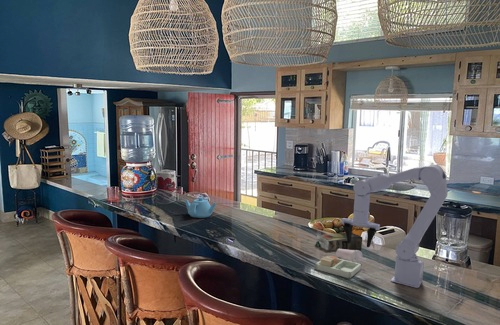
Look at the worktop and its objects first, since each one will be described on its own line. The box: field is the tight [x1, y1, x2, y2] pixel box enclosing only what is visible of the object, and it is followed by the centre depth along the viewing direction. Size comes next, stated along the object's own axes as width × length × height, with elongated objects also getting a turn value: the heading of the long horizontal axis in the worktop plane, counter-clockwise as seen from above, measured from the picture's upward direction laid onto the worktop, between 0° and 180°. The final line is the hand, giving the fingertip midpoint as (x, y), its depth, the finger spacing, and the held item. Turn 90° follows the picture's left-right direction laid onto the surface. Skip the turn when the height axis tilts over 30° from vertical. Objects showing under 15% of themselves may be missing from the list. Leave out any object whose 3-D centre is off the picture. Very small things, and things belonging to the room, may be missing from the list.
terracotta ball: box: [330, 255, 338, 265], centre depth 154 cm, size 4×4×4 cm
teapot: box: [184, 196, 217, 219], centre depth 228 cm, size 15×15×11 cm
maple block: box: [320, 256, 335, 267], centre depth 150 cm, size 4×4×4 cm
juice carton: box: [315, 232, 363, 251], centre depth 180 cm, size 20×10×6 cm, turn 114°
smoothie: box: [335, 249, 368, 265], centre depth 159 cm, size 6×6×14 cm
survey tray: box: [314, 255, 362, 279], centre depth 151 cm, size 14×12×3 cm
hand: (358, 244), depth 153 cm, fingers open, 7 cm apart
